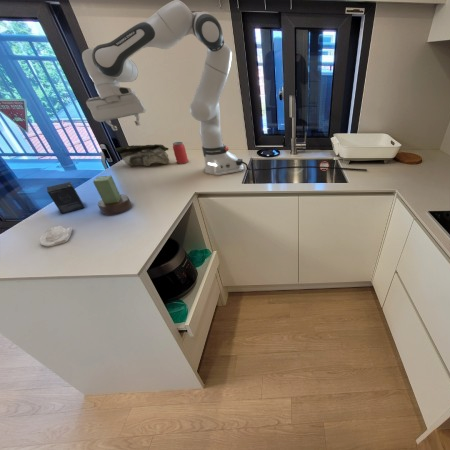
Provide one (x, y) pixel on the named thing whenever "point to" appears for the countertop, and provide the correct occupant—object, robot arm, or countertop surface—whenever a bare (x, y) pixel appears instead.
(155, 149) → the hollow geode rock
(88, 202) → the countertop surface
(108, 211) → the cylinder
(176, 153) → the beer can
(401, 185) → the countertop surface
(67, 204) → the box
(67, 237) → the white flat lumpy piece
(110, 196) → the block
